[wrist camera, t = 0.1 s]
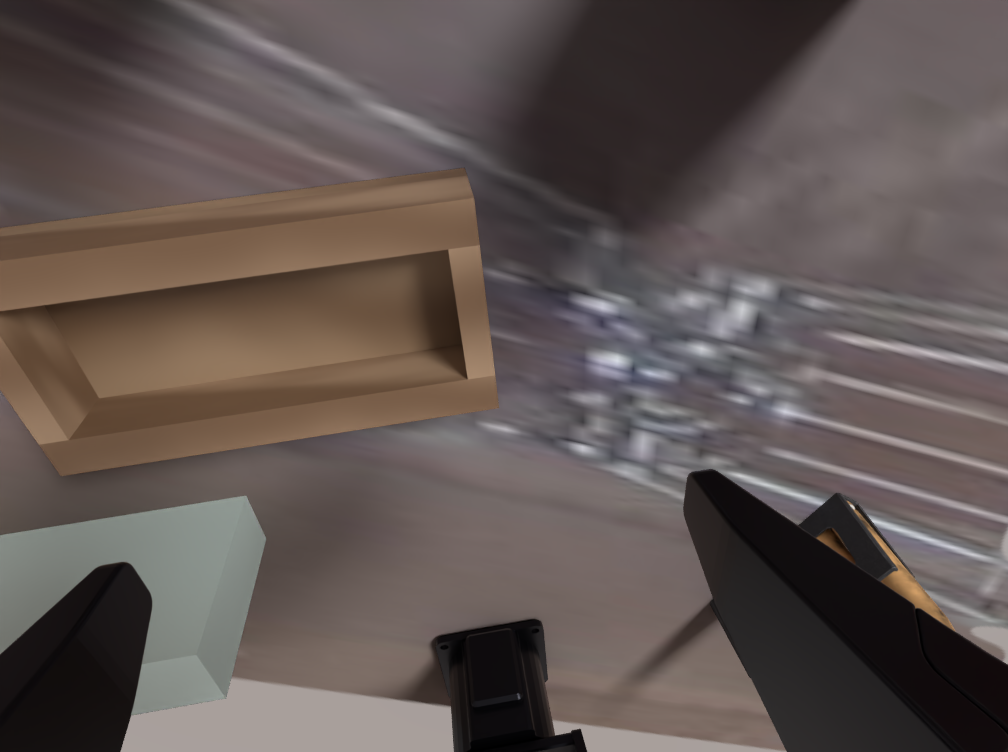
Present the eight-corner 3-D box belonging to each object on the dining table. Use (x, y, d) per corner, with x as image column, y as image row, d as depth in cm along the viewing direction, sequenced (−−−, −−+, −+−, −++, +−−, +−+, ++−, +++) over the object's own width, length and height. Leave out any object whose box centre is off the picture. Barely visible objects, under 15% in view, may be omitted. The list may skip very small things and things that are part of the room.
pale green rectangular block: (266, 537, 29) (226, 698, 23) (15, 578, 29) (-102, 757, 22) (246, 494, 28) (196, 654, 21) (-22, 537, 27) (-160, 716, 20)
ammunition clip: (728, 609, 38) (839, 827, 29) (708, 602, 38) (815, 824, 28) (857, 501, 34) (1041, 714, 24) (837, 491, 33) (1018, 706, 24)
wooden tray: (488, 359, 25) (498, 407, 22) (101, 417, 24) (60, 476, 21) (464, 167, 21) (473, 198, 18) (-12, 229, 20) (-83, 272, 17)
